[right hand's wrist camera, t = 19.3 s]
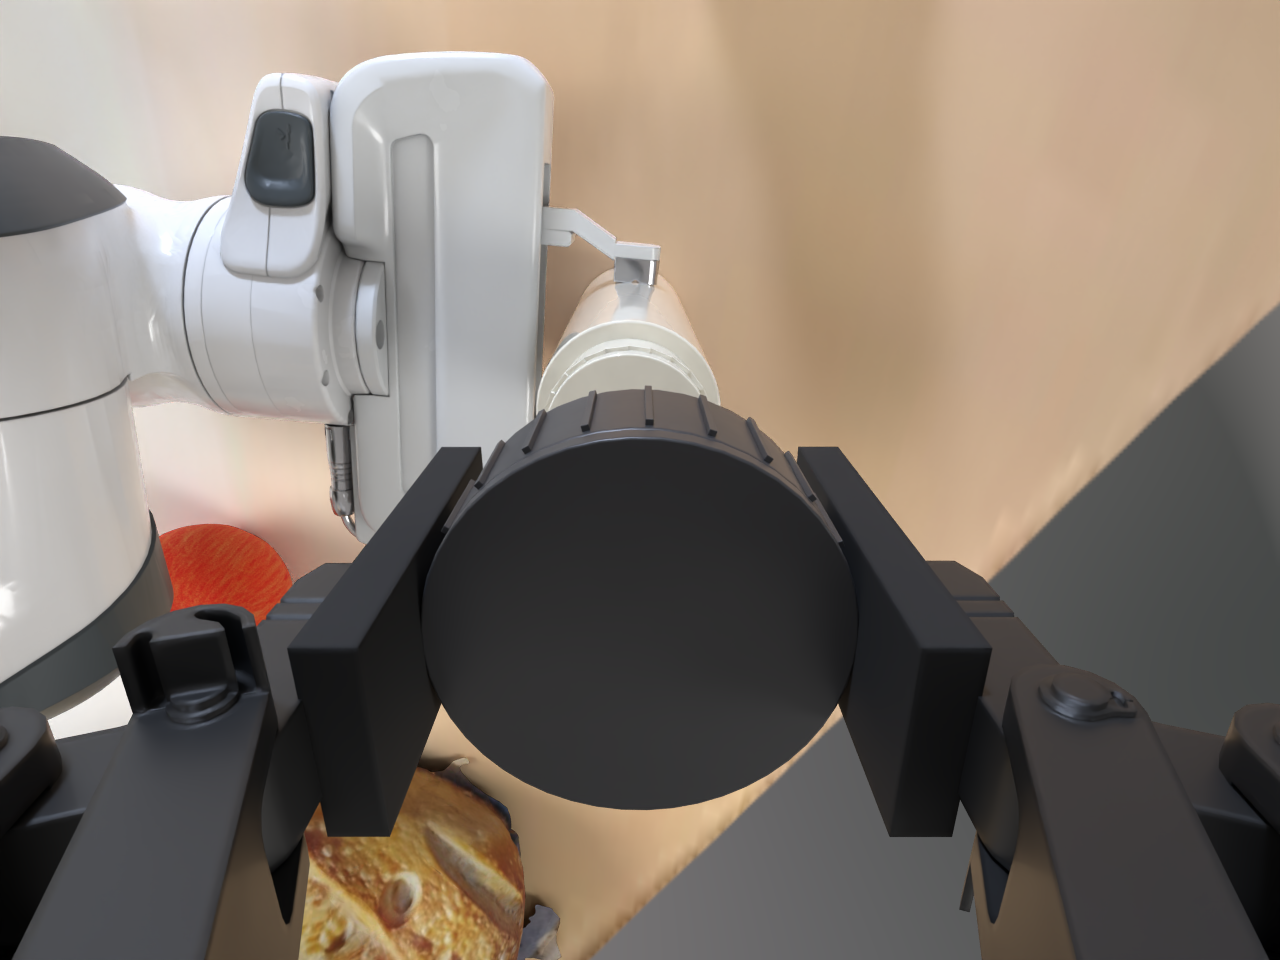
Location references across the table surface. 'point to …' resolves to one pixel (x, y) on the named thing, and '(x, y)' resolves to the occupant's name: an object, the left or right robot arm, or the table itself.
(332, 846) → the bread
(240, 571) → the apple
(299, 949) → the right robot arm
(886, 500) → the table surface
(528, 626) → the lid
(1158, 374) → the table surface
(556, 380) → the white bottle
